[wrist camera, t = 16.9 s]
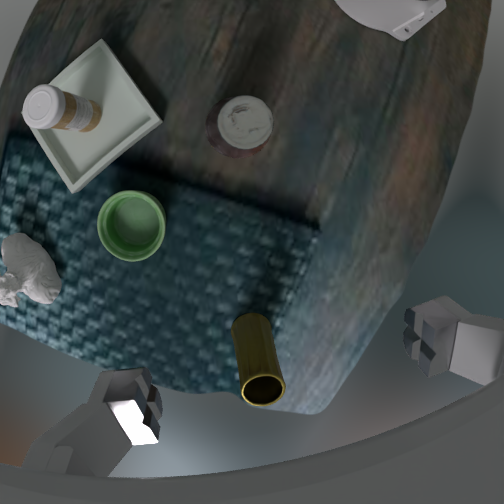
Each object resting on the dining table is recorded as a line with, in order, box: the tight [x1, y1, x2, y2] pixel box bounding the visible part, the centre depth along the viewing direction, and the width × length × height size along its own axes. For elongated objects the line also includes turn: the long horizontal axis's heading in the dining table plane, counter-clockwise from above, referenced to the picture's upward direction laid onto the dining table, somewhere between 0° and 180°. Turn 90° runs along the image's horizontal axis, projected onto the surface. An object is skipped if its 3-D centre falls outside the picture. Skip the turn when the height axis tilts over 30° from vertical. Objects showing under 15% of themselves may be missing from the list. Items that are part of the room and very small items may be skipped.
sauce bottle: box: [205, 95, 274, 158], centre depth 31 cm, size 7×6×20 cm
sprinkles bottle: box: [23, 84, 102, 133], centre depth 30 cm, size 5×5×14 cm
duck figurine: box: [0, 233, 62, 307], centre depth 38 cm, size 12×8×11 cm
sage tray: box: [21, 38, 163, 193], centre depth 36 cm, size 15×15×2 cm
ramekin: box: [97, 190, 166, 261], centre depth 40 cm, size 9×9×4 cm
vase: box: [231, 313, 286, 406], centre depth 42 cm, size 6×6×14 cm
